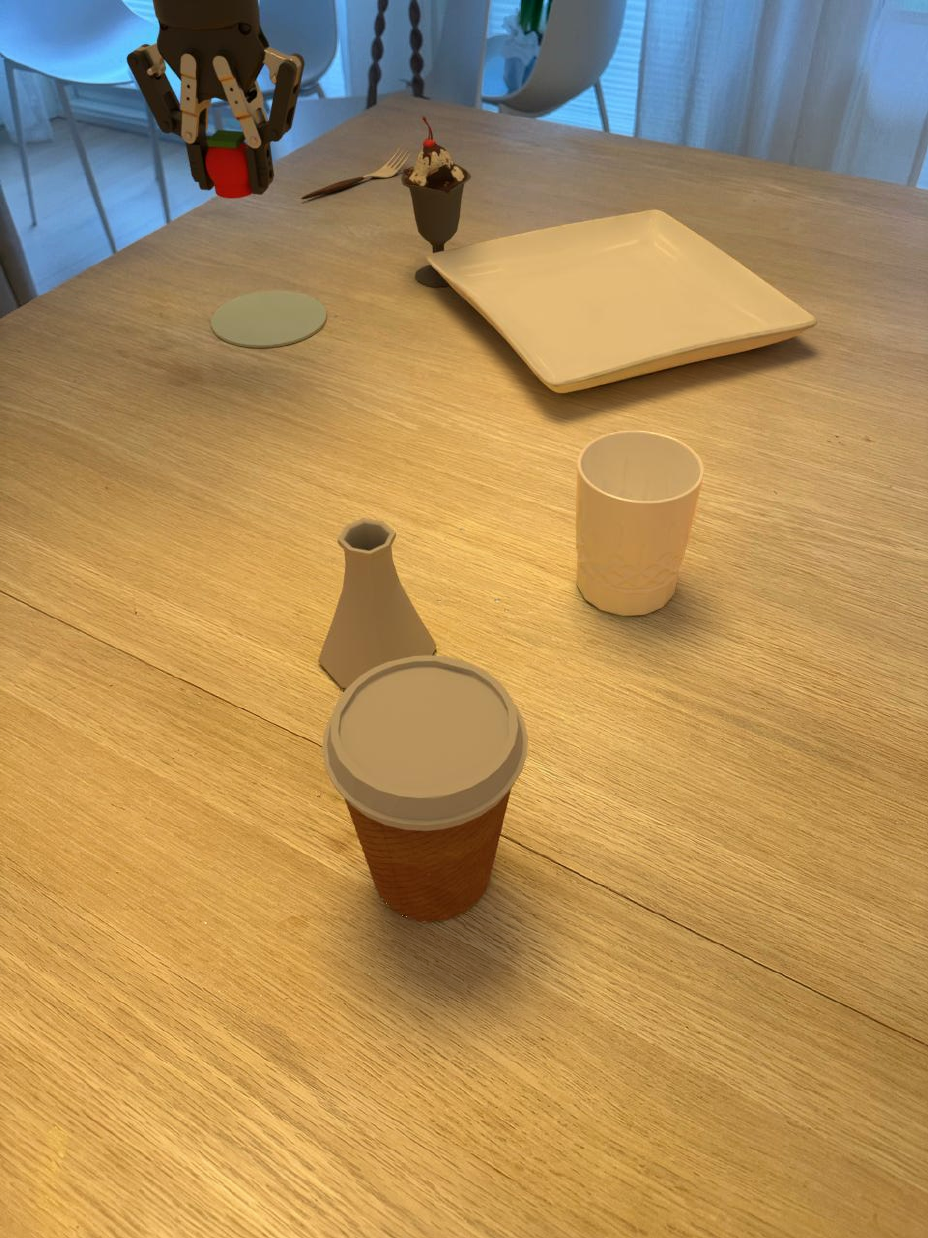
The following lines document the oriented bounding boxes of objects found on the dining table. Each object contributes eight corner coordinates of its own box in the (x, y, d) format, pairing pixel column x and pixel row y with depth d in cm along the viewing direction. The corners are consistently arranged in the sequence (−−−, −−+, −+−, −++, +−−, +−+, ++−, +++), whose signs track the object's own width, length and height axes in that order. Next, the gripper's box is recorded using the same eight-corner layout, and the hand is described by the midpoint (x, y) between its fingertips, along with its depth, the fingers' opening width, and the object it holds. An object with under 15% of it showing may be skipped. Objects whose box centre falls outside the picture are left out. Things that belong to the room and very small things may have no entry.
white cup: (681, 629, 69) (703, 508, 62) (562, 616, 70) (571, 495, 64) (684, 554, 75) (704, 435, 68) (573, 542, 76) (583, 424, 69)
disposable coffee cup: (335, 953, 53) (309, 808, 44) (349, 798, 60) (329, 648, 51) (525, 951, 53) (534, 806, 44) (517, 797, 60) (524, 647, 51)
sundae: (424, 256, 111) (418, 105, 100) (482, 268, 109) (482, 115, 98) (394, 282, 106) (385, 127, 96) (453, 295, 104) (450, 138, 94)
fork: (295, 199, 122) (293, 182, 121) (399, 163, 130) (399, 147, 129) (308, 206, 121) (306, 188, 119) (413, 169, 129) (412, 152, 127)
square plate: (549, 423, 87) (551, 382, 85) (423, 287, 106) (421, 249, 103) (814, 353, 95) (824, 313, 93) (655, 237, 114) (659, 201, 111)
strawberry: (202, 198, 85) (192, 142, 82) (221, 179, 88) (212, 125, 85) (249, 202, 84) (241, 146, 81) (267, 183, 87) (259, 128, 84)
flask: (298, 666, 67) (277, 545, 60) (369, 603, 72) (357, 483, 65) (387, 714, 64) (377, 592, 57) (456, 645, 69) (453, 524, 62)
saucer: (193, 342, 98) (193, 339, 98) (235, 288, 106) (235, 286, 106) (306, 352, 96) (306, 350, 96) (340, 298, 104) (340, 295, 104)
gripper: (79, -50, 73) (134, 200, 84) (274, -41, 70) (303, 214, 82) (127, -72, 78) (173, 165, 90) (310, -65, 76) (332, 178, 87)
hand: (235, 187), depth 86 cm, fingers closed on strawberry, 4 cm apart
